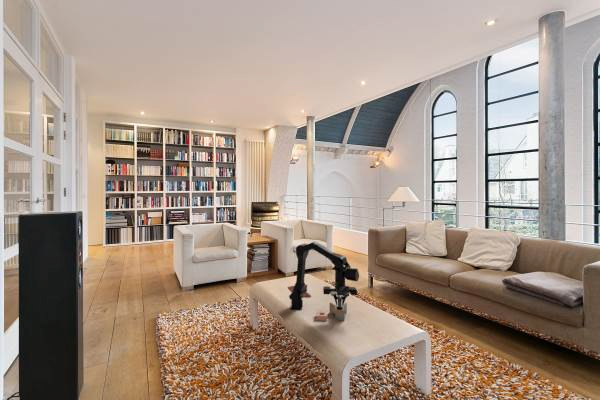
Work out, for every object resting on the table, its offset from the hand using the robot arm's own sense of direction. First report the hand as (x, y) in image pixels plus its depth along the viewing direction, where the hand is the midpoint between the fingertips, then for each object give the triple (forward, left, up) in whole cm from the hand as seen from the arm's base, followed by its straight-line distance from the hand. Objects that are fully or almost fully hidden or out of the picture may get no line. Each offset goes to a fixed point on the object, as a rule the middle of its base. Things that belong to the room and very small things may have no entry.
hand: (339, 305), depth 173 cm
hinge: (0, +3, -8) cm, 8 cm away
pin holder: (-10, 0, -8) cm, 12 cm away
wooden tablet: (-25, +44, -8) cm, 51 cm away
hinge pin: (0, 0, -4) cm, 4 cm away
